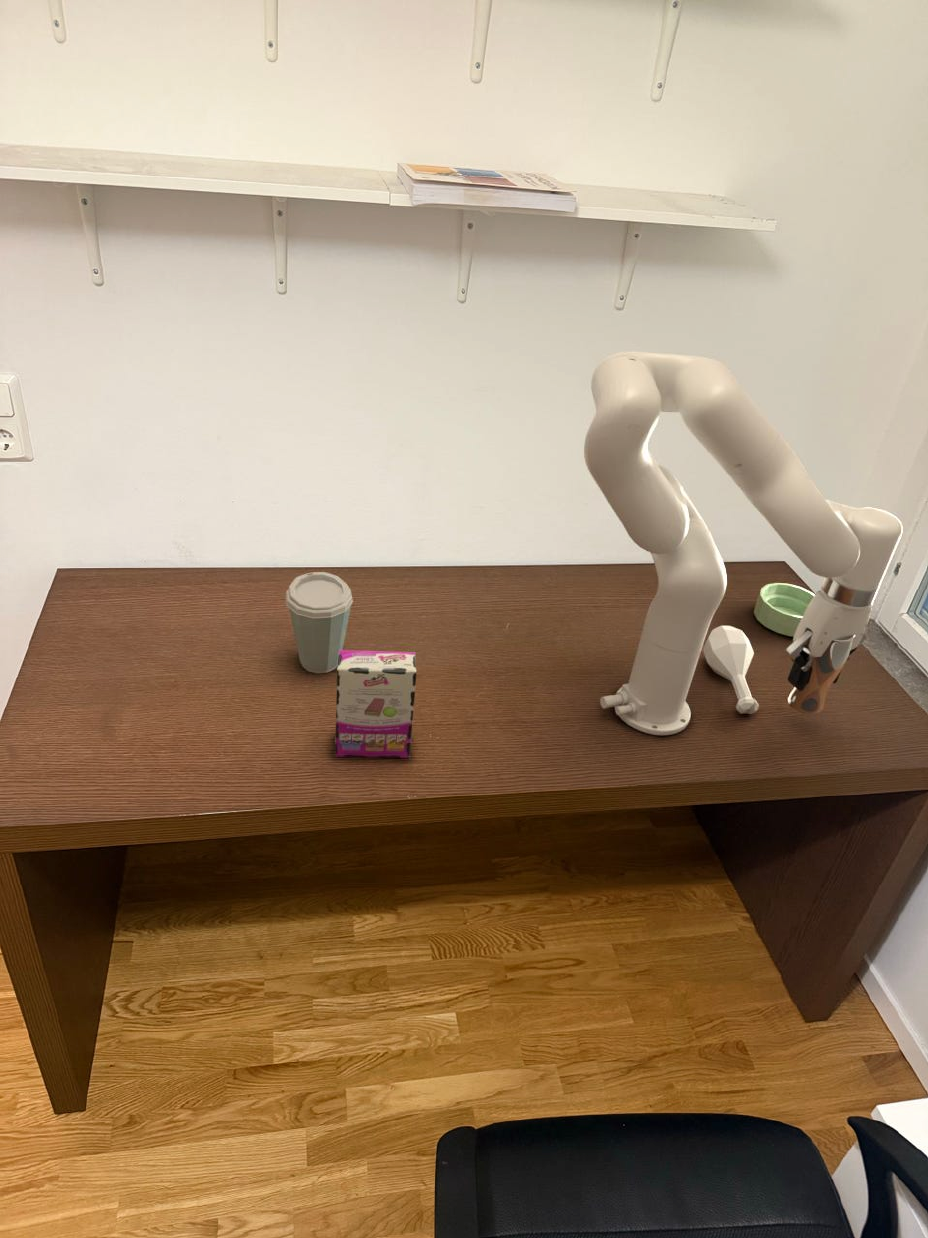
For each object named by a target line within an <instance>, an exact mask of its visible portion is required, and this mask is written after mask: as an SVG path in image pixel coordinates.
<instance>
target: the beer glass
mask: <svg viewBox="0 0 928 1238" xmlns="http://www.w3.org/2000/svg"><path fill="white" fill-rule="evenodd" d="M854 637H855V635H852V637H851V638H849V639H847V640H836V639H833V640H832V641H831V643H830V644H829V646H828V647H827V649H826V650H825V652H824V653H823V654H822V656H821V657H815V659H814V662H813V664H812V666H811V667H810V668H809V670H810V671H811V673H810V675H809V678H808V680H807V683H806V685H805V688H804V690H802V691H799V690H798V689H796V688H795V687H794V686H793V685H792V684H791V687H790V688H789V689H788V691H787V693H786V695H785V699H786V700H785V701H786V702H787V704H788V705H789V706H790V708H791V709H793V710H795V711H797V712H799V713H802V714H804V715H818V714H820V713H822V712H823V711H824V710H825V709H824V708H825V705H826V699H827V694H828V693H829V690H830V688H831V686H832V685H833V684H834V683H833V682H834V680H835V679H836V677H837V676H838V674H839V673H840V671H841V672H842V671H843V668H844V666H845V665H846V663H847V662H846V660H847V658H848V655H849V652H850V649H851V646H852V642H853V639H854ZM806 647H807V648H808V649H809V644H808V645H807V646H806ZM809 650H810V649H809ZM808 657H809V655H808V654H807V653H806V652H805V651H804V654H803V657H802V658H803V659H804V660H805V662H806V660H807V659H808ZM845 662H846V663H845ZM840 674H841V673H840Z"/></svg>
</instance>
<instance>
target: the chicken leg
mask: <svg viewBox="0 0 928 1238" xmlns="http://www.w3.org/2000/svg"><path fill="white" fill-rule="evenodd" d="M702 651H703V654H704V657H705V661H706V664H707V665H709V667H710V668H711V671H713V672H714V673H715V674H717V675H719V676H721V677H723V678H724V679H726V680H728V681H729V682H731V683H732V686H733V689H734V692H735V695H736V697H737V703H736V705H735V709H736V711H737V712H738V713H739V714H741V715H742V714H743V715H744V714H749V715H751V714H754V713H756V712H757V711H758V709H759V707H760V705H759V703H758V702H757V700H756V699H755V698H754V697H752V694H751V690H750V688H749V685H748V683H747V679H746V674H747V672H748V670H749V667H750V665H751V663H752V660H753V657H754V655H755V651H754V649H753V647H752V644H751V642H750V639H749V638H748V636H746V634H745V632H743V630H742V629H739V628H736V627H734V626H731V625H720V626H717V627H715V628H713V629H711V632H710V634H709V636H708V637H707V640H706V642H705V644H704V645H703V647H702Z"/></svg>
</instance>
